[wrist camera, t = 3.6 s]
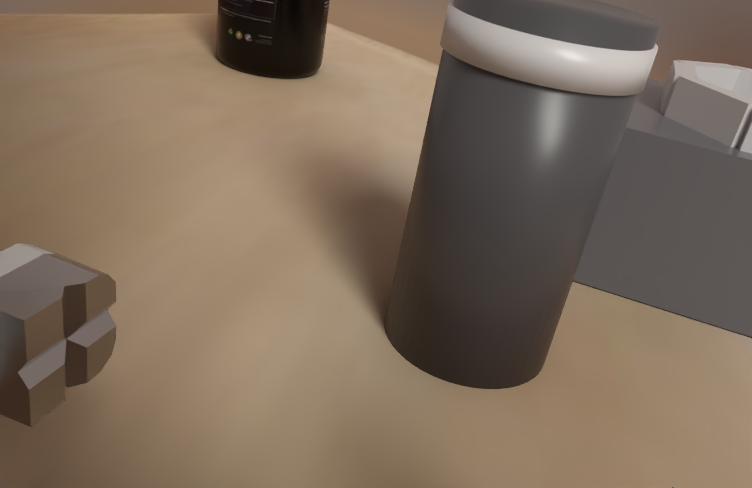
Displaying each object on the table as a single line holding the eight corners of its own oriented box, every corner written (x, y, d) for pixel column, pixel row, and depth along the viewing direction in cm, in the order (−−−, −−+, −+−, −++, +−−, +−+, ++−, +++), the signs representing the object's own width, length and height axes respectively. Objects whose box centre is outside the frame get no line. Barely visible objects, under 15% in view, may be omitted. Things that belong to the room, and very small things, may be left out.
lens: (356, 350, 20) (427, -14, 16) (411, 274, 25) (478, -27, 20) (534, 415, 19) (667, 41, 15) (557, 323, 24) (664, 15, 19)
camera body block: (552, 274, 27) (618, 77, 23) (578, 190, 35) (628, 37, 32) (904, 385, 24) (1037, 181, 20) (839, 265, 32) (925, 106, 29)
